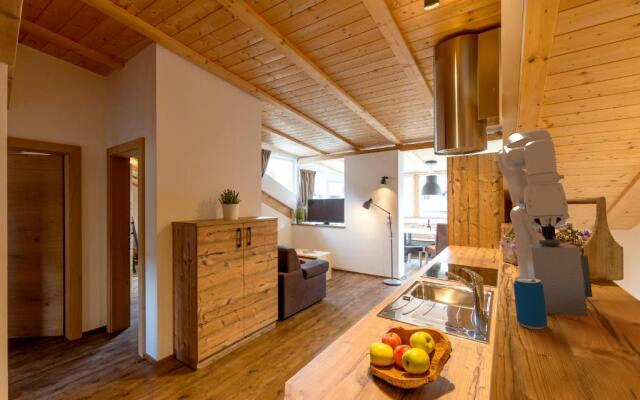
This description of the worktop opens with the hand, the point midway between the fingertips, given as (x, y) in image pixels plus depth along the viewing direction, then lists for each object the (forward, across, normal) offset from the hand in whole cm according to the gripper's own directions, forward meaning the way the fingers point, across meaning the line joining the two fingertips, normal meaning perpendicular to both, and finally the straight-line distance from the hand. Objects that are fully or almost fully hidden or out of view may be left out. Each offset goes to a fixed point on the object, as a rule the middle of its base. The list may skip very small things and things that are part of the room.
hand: (549, 239), depth 86 cm
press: (+21, -1, 0) cm, 21 cm away
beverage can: (+21, +9, +17) cm, 28 cm away
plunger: (+19, 0, 0) cm, 19 cm away
